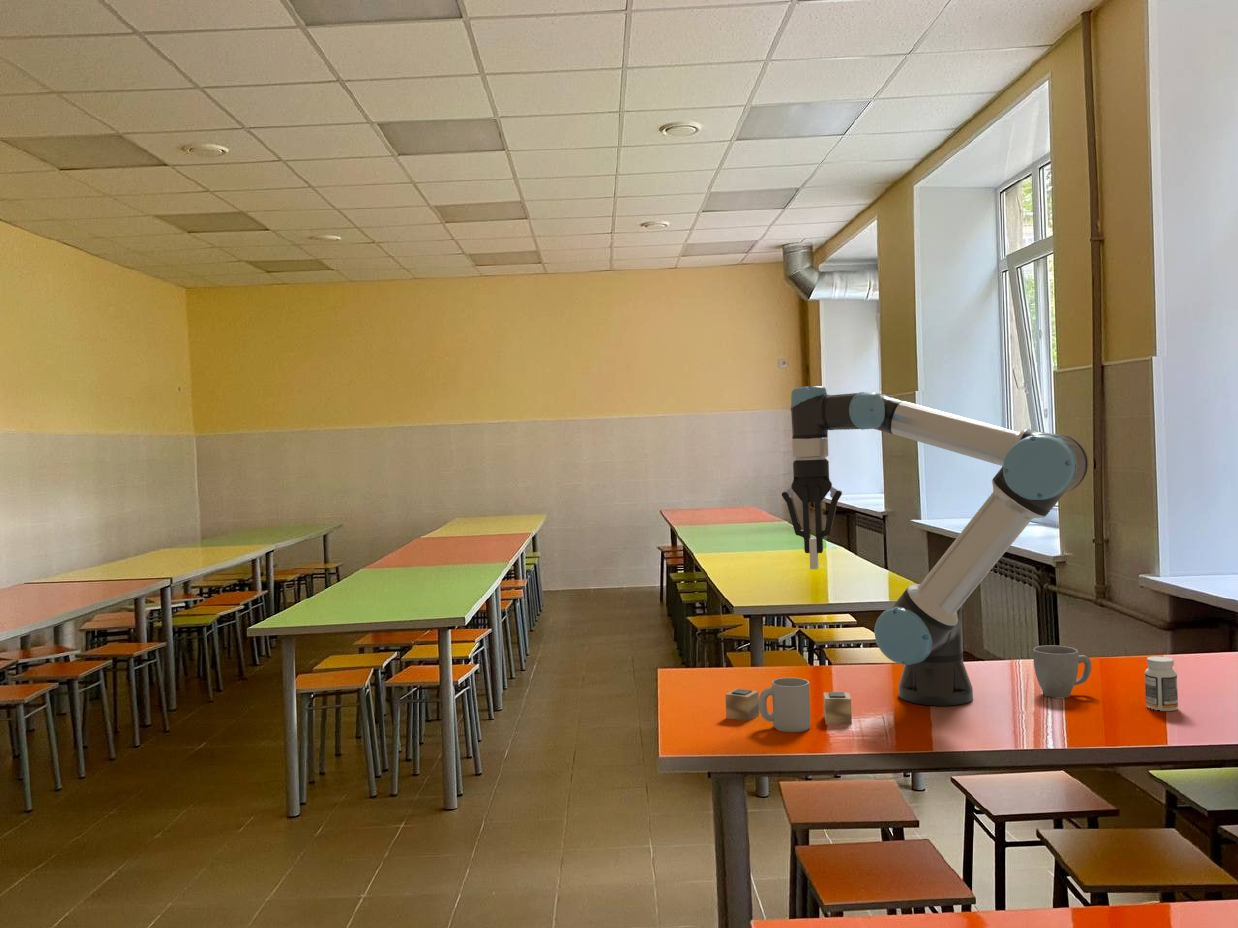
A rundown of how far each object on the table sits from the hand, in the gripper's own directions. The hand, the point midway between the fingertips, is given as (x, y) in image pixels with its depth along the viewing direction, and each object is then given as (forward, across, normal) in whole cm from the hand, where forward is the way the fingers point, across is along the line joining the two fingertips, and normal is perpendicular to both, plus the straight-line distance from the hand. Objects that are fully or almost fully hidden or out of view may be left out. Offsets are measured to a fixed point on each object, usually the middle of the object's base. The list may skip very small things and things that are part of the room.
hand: (814, 568), depth 212 cm
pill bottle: (+29, -67, -5) cm, 73 cm away
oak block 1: (+29, +14, +16) cm, 35 cm away
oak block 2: (+29, -5, +15) cm, 33 cm away
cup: (+29, +4, +22) cm, 36 cm away
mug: (+29, -50, -13) cm, 59 cm away
